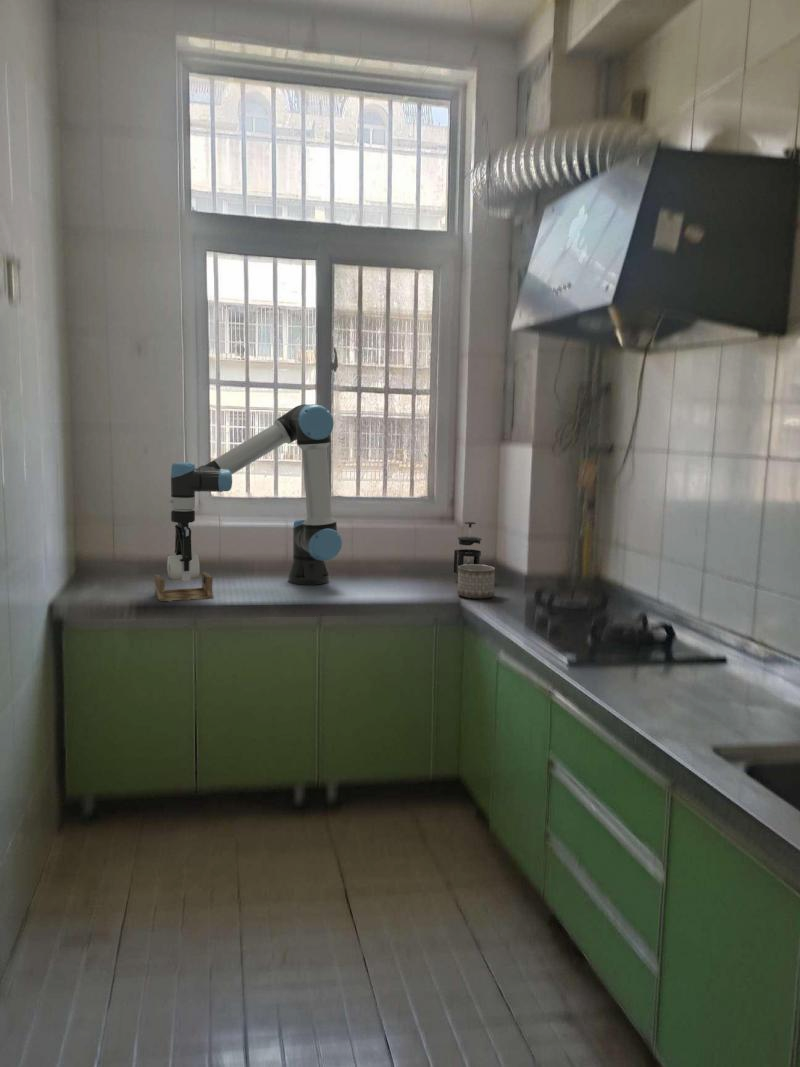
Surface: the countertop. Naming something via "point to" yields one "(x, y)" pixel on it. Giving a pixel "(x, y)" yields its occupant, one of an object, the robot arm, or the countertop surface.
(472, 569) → the planter
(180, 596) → the holder
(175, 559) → the roll
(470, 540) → the french press
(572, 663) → the countertop surface
